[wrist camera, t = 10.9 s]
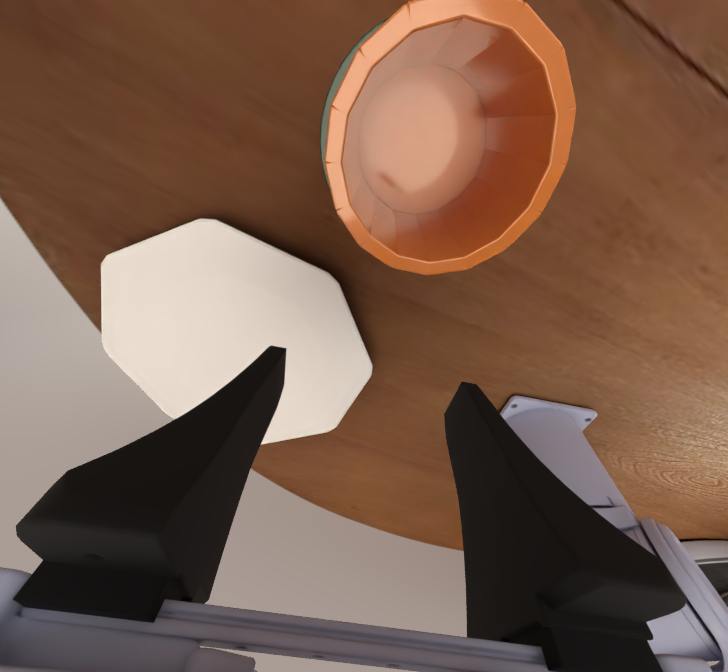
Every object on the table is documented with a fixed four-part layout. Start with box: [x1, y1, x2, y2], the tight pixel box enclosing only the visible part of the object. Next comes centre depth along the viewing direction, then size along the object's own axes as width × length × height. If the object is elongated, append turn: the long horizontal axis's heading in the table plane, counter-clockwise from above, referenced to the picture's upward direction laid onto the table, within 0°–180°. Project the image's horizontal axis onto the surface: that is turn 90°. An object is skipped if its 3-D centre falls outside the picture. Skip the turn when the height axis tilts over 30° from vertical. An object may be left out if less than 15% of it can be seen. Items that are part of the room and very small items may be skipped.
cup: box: [324, 0, 576, 275], centre depth 9 cm, size 5×5×6 cm
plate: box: [101, 218, 373, 444], centre depth 24 cm, size 20×20×2 cm
